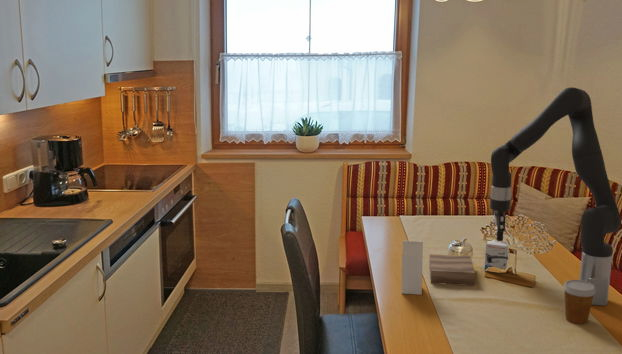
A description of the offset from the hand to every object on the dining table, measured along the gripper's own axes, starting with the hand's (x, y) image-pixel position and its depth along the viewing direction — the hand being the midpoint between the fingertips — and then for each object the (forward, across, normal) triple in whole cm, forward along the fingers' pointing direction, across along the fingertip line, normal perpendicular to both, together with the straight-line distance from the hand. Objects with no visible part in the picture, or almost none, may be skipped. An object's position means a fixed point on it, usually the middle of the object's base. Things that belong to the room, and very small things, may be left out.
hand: (498, 237), depth 223 cm
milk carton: (+14, -25, +33) cm, 43 cm away
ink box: (+14, 0, 0) cm, 14 cm away
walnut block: (+14, -8, +18) cm, 24 cm away
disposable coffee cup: (+14, -41, -20) cm, 47 cm away
